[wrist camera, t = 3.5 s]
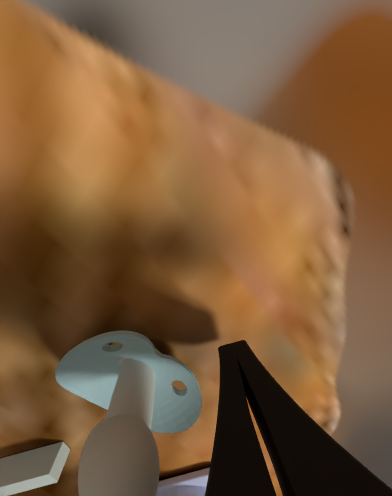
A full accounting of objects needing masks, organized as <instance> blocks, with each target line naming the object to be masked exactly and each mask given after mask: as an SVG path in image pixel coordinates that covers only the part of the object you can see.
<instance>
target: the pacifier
mask: <svg viewBox="0 0 392 496" xmlns="http://www.w3.org/2000/svg"><path fill="white" fill-rule="evenodd" d="M111 342H113V343H112V344H111V345H108V343H111ZM55 375H56V377H55V378H56V380H57V383H59V384H60V385H61V386H62V387H63V388H65V389H66V390H68V391H70V392H72V393H74V394H76V395H78V396H80V397H82V398H84V399H86V400H88V401H90V402H92V403H94V404H97V405H99V406H101V407H103V408H105V409H107V410H108V412H107V415H106V418H105V419H104V420H102V421H101V422H100V423H99V424H98V425H97V426H96V427H95V428H94V429H93V430H92V431H91V433H90V434H89V436H88V438H87V440H86V442H85V444H84V447H83V450H82V453H81V457H80V462H79V469H78V493H79V496H156V494H157V489H158V483H159V455H158V449H157V445H156V442H155V439H154V436H153V434H152V432H151V431H154V432H157V433H177V432H182V431H185V430H187V429H188V428H189V427H191V426H192V425H193V424H194V423H195V422H196V421H197V419H198V417H199V415H200V411H201V405H202V398H201V392H200V387H199V384H198V381H197V379H196V377H195V375H194V374H193V372H192V371H191V370H190V368H189V367H188V366H187V365H186V364H184V363H183V362H181V361H180V360H178V359H176V358H174V357H172V356H169V355H165V354H161V353H160V352H159V351H158V350H157V349H156V348H155V347H154V345H153V343H152V342H151V341H150V340H149V339H148V338H147V337H145V336H144V335H142V334H140V333H137V332H133V331H123V330H122V331H112V332H107V333H103V334H100V335H97V336H94V337H92V338H90V339H87V340H85V341H83V342H82V343H80V344H78V345H77V346H75V347H74V348H73V349H71V350H70V351H69V352H68V353H67V354H66V355H65V356H64V357H63V358H62V359H61V361H60V362H59V364H58V366H57V367H56V371H55ZM175 380H178V381H181V382H183V383H184V384H185V386H186V389H185V390H178V389H176V388H175V387H174V386H173V385H172V382H173V381H175Z"/></svg>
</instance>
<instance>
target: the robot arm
mask: <svg viewBox="0 0 392 496" xmlns="http://www.w3.org/2000/svg"><path fill="white" fill-rule="evenodd" d="M218 351H219V358H220V390H219V404H218V415H217V424H216V432H215V439H214V446H213V453H212V459H211V464H210V467H209V468H206V469H202V470H198V471H195V472H191V473H187V474H184V475H180V476H176V477H173V478H169V479H165V480H162V481H159V483H158V489H157V494H156V496H276V493H275V490H274V487H273V484H272V481H271V478H270V475H269V472H268V468H267V465H266V462H265V459H264V456H263V453H262V450H261V447H260V444H259V441H258V438H257V434H256V431H255V428H254V425H253V422H252V419H251V415H250V412H249V407H248V403H247V400H248V402H249V405H250V407H251V410H252V413H253V415H254V418H255V420H256V423H257V425H258V428H259V430H260V433H261V435H262V438H263V440H264V443H265V445H266V448H267V451H268V453H269V456H270V458H271V461H272V464H273V467H274V469H275V472H276V476H277V479H278V482H279V485H280V488H281V491H282V494H283V496H392V489H391V488H390V487H388V486H387V485H386V484H385V483H384V482H382V481H381V480H380V479H379V478H377V477H376V476H375V475H374V474H373V473H372V472H370V471H369V470H368V469H367V468H366V467H364V466H363V465H362V464H361V463H360V462H359V461H358V460H357V459H355V458H354V457H353V456H352V455H351V454H350V453H349V452H347V451H346V450H345V449H344V448H343V447H342V446H341V445H339V444H338V443H337V442H336V441H335V440H334V439H333V438H332V437H331V436H329V435H328V434H327V433H326V432H325V431H324V430H323V429H322V428H321V427H320V426H319V425H318V424H317V423H316V422H315V421H314V420H313V419H312V418H311V417H309V416H308V415H307V414H306V413H305V412H304V411H303V410H302V409H301V408H300V407H299V405H298V404H297V403H296V402H295V401H294V400H293V399H292V398H291V397H290V396H289V395H288V394H287V393H286V392H285V391H284V390H283V388H282V387H281V386H280V385H279V384H278V383H277V382H276V381H275V379H274V378H273V377H272V376H271V375H270V373H269V372H268V371H267V370H266V369H265V367H264V366H263V365H262V364H261V362H260V361H259V360H258V358H257V357H256V356H255V354H254V353H253V352H252V350H251V349H250V347H249V346H248V344H247V342H246V341H245V340H241V341H238V342H234V343H230V344H226V345H223V346H220V347H219V348H218ZM246 397H247V399H246Z"/></svg>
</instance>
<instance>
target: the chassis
mask: <svg viewBox="0 0 392 496" xmlns="http://www.w3.org/2000/svg"><path fill="white" fill-rule="evenodd" d="M69 452H70V449H69V448H68V446H67V445H66V444H65V443H64V442H59V443H56V444H52V445H48V446H45V447H41V448H37V449H34V450H30V451H26V452H23V453H19V454H15V455H11V456H8V457H4V458H0V496H9V495H13V494H17V493H20V492H24V491H28V490H31V489H35V488H39V487H42V486H46V485H50V484H53V483H57V482H58V479H59V477H60V474H61V472H62V469H63V467H64V464H65V462H66V459H67V457H68V454H69Z"/></svg>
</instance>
